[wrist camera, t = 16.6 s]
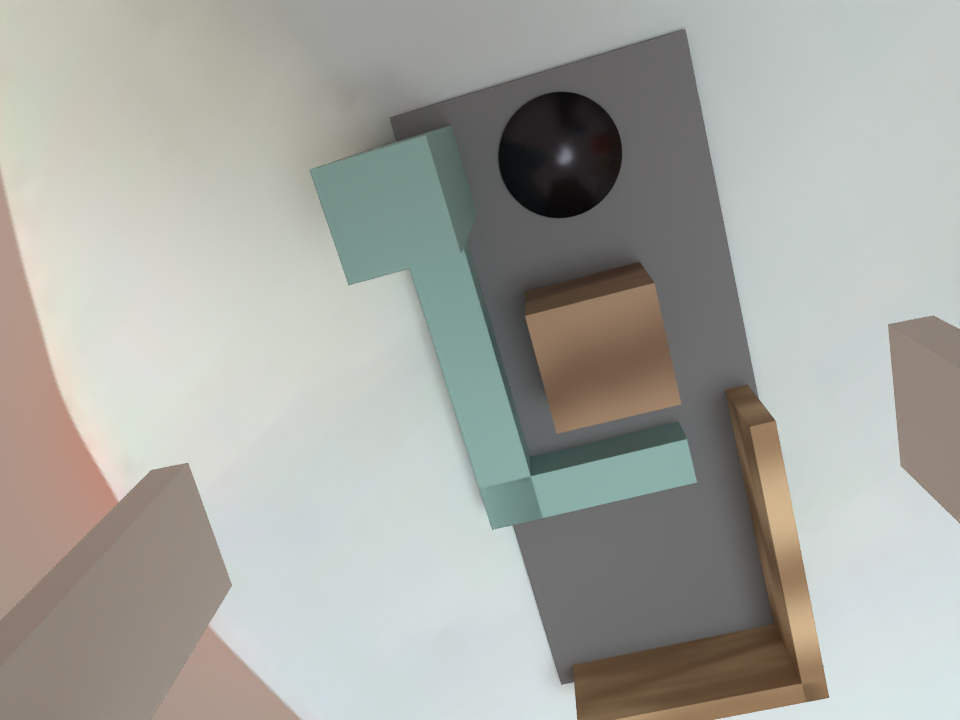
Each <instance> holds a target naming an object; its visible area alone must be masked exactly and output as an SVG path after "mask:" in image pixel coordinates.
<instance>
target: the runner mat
mask: <svg viewBox="0 0 960 720" xmlns="http://www.w3.org/2000/svg"><path fill="white" fill-rule="evenodd" d="M553 92H571V93H576V94H580V95H583V96H585V97H587V98H589V99H591V100H593V101H595V102H596V103H597V104H599V105H600V106H601V107H602V108H603V109H604V110H605V111H606V112H607V113H608V114H609V115H610V117H611V118H612V120H613V121H614V123H615V125H616V127H617V129H618V132H619V135H620V139H621V144H622V163H621V168H620V172H619V175H618V178H617V180H616V182H615V184H614V186H613V188H612V189H611V191H610V192H609V194H608V195H607V196H606V197H605V198H604V199H603V200H602V201H601V202H600V203H599V204H598V205H596V206H595V207H593V208H592V209H590V210H589V211H587V212H585V213H583V214H580V215H577V216H573V217H568V218H549V217H544V216H541V215H538V214H535V213H533V212H531V211H529V210H528V209H526V208H525V207H523V206H522V205H521V204H520V203H518V202H517V201H516V200H515V198H514V197H513V196H512V195H511V194H510V192H509V191H508V189H507V187H506V185H505V183H504V181H503V178H502V175H501V172H500V167H499V146H500V141H501V138H502V135H503V132H504V130H505V128H506V126H507V124H508V122H509V121H510V119H511V118H512V116H513V115H514V114H515V113H516V112H517V111H518V110H519V109H520V108H521V107H522V106H523V105H525V104H526V103H527V102H529V101H530V100H532V99H534V98H536V97H539V96H541V95H544V94H548V93H553ZM390 119H391V122H392V125H393V129H394V132H395V135H396V139H397V141H400V140H404V139H407V138H410V137H414V136H417V135H420V134H424V133H427V132H430V131H434V130H437V129H441V128H444V127H447V126H451V125H452V129H453V132H454V136H455V139H456V143H457V146H458V150H459V153H460V157H461V160H462V164H463V167H464V171H465V174H466V178H467V181H468V185H469V188H470V192H471V195H472V199H473V202H474V206H475V209H476V213H477V216H476V219H475V221H474V223H473V226H472V228H471V231H470V233H469V236H468V238H467V242H468V245H469V249H470V252H471V256H472V259H473V262H474V266H475V269H476V273H477V276H478V280H479V283H480V286H481V290H482V293H483V297H484V300H485V304H486V307H487V310H488V314H489V317H490V321H491V324H492V327H493V331H494V334H495V338H496V341H497V345H498V348H499V351H500V355H501V358H502V362H503V365H504V369H505V372H506V375H507V379H508V382H509V386H510V389H511V392H512V396H513V399H514V403H515V406H516V410H517V413H518V416H519V420H520V423H521V427H522V430H523V434H524V437H525V440H526V444H527V447H528V451H529V454H530V457H534V456H538V455H542V454H547V453H551V452H555V451H559V450H563V449H567V448H571V447H576V446H580V445H584V444H588V443H592V442H596V441H600V440H605V439H609V438H613V437H617V436H621V435H625V434H629V433H634V432H638V431H642V430H646V429H650V428H654V427H658V426H663V425H667V424H671V423H675V422H679V423H680V426H681V428H682V430H683V432H684V434H685V436H686V438H687V442H688V446H689V450H690V455H691V459H692V463H693V467H694V472H695V476H696V480H697V483H693V484H688V485H684V486H680V487H675V488H671V489H667V490H662V491H658V492H654V493H649V494H645V495H641V496H636V497H632V498H628V499H623V500H619V501H615V502H610V503H606V504H602V505H597V506H593V507H589V508H584V509H580V510H576V511H571V512H567V513H563V514H558V515H554V516H550V517H545V518H541V519H537V520H532V521H528V522H524V523H519V524H515V525H513V526H514V529H515V533H516V536H517V539H518V542H519V546H520V549H521V552H522V556H523V559H524V562H525V566H526V569H527V572H528V576H529V579H530V582H531V585H532V589H533V592H534V595H535V599H536V602H537V605H538V609H539V612H540V615H541V619H542V622H543V625H544V629H545V632H546V635H547V638H548V642H549V645H550V648H551V652H552V655H553V658H554V662H555V665H556V668H557V672H558V675H559V678H560V681H561V685H562V684H567V683H572V682H574V673H573V665H575V664H580V663H585V662H590V661H595V660H600V659H604V658H609V657H614V656H619V655H624V654H629V653H634V652H639V651H644V650H649V649H654V648H659V647H664V646H669V645H673V644H678V643H683V642H688V641H693V640H698V639H703V638H708V637H713V636H718V635H723V634H728V633H733V632H738V631H742V630H747V629H752V628H757V627H762V626H767V625H772V624H774V622H773V617H772V612H771V607H770V603H769V598H768V593H767V588H766V584H765V579H764V574H763V569H762V565H761V560H760V555H759V550H758V545H757V541H756V536H755V531H754V526H753V522H752V517H751V512H750V507H749V503H748V498H747V493H746V488H745V484H744V479H743V474H742V469H741V464H740V460H739V455H738V450H737V445H736V441H735V436H734V431H733V426H732V422H731V417H730V412H729V407H728V403H727V398H726V393H725V390H728V389H732V388H737V387H741V386H745V385H748V386H749V387H750V388H751V390H752V391H753V392H754V394H755V395H756V396H757V397H758V394H757V389H756V384H755V379H754V373H753V368H752V363H751V358H750V353H749V348H748V343H747V338H746V333H745V328H744V323H743V318H742V313H741V308H740V303H739V298H738V293H737V288H736V283H735V278H734V273H733V268H732V263H731V257H730V252H729V247H728V242H727V237H726V232H725V227H724V222H723V217H722V212H721V207H720V202H719V197H718V192H717V187H716V182H715V177H714V172H713V167H712V162H711V157H710V152H709V146H708V141H707V136H706V131H705V126H704V121H703V116H702V111H701V106H700V101H699V96H698V91H697V86H696V81H695V76H694V71H693V66H692V61H691V56H690V51H689V46H688V41H687V35H686V30H682V31H678V32H675V33H672V34H668V35H665V36H661V37H658V38H655V39H651V40H648V41H645V42H641V43H638V44H635V45H631V46H628V47H625V48H621V49H618V50H615V51H611V52H608V53H605V54H601V55H598V56H595V57H591V58H588V59H585V60H581V61H578V62H575V63H571V64H568V65H565V66H561V67H558V68H555V69H551V70H548V71H545V72H541V73H538V74H534V75H531V76H528V77H524V78H521V79H518V80H514V81H511V82H508V83H504V84H501V85H498V86H494V87H491V88H488V89H484V90H481V91H478V92H474V93H471V94H468V95H464V96H461V97H458V98H454V99H451V100H448V101H444V102H441V103H438V104H434V105H431V106H428V107H424V108H421V109H418V110H414V111H411V112H407V113H404V114H401V115H397V116H394V117H391V118H390ZM637 262H640V263H641V264H642V266H643V267H644V268H645V270H646V271H647V273H648V274H649V276H650V277H651V278H652V280H653V281H654V283H655V287H656V292H657V296H658V301H659V305H660V310H661V314H662V319H663V323H664V328H665V332H666V337H667V341H668V346H669V350H670V355H671V359H672V364H673V368H674V373H675V377H676V382H677V386H678V391H679V395H680V400H681V405H677V406H672V407H668V408H664V409H660V410H655V411H651V412H647V413H643V414H638V415H634V416H630V417H626V418H621V419H617V420H613V421H609V422H604V423H600V424H596V425H592V426H588V427H583V428H579V429H575V430H571V431H566V432H562V433H558V434H557V433H556V429H555V425H554V422H553V418H552V414H551V411H550V407H549V403H548V399H547V396H546V392H545V388H544V385H543V381H542V377H541V374H540V370H539V366H538V362H537V359H536V355H535V351H534V348H533V344H532V340H531V337H530V333H529V329H528V325H527V322H526V318H525V292H526V291H529V290H533V289H537V288H541V287H545V286H549V285H553V284H556V283H560V282H564V281H568V280H572V279H576V278H580V277H583V276H587V275H591V274H595V273H599V272H603V271H607V270H610V269H614V268H618V267H622V266H626V265H630V264H633V263H637Z"/></svg>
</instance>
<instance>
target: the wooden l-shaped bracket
mask: <svg viewBox="0 0 960 720" xmlns="http://www.w3.org/2000/svg"><path fill="white" fill-rule="evenodd" d="M725 393H726V398H727V403H728V407H729V412H730V417H731V422H732V426H733V431H734V436H735V441H736V445H737V450H738V455H739V460H740V464H741V469H742V474H743V479H744V484H745V488H746V493H747V498H748V503H749V507H750V512H751V517H752V522H753V526H754V531H755V536H756V541H757V545H758V550H759V555H760V560H761V565H762V569H763V574H764V579H765V584H766V588H767V593H768V598H769V603H770V607H771V612H772V617H773V622H774V624H772V625H767V626H762V627H757V628H752V629H747V630H742V631H738V632H733V633H728V634H723V635H718V636H713V637H708V638H703V639H698V640H693V641H688V642H683V643H678V644H673V645H669V646H664V647H659V648H654V649H649V650H644V651H639V652H634V653H629V654H624V655H619V656H614V657H609V658H604V659H600V660H595V661H590V662H585V663H580V664H575V665H573V673H574V685H575V697H576V709H577V720H715V719H720V718H725V717H730V716H736V715H741V714H746V713H752V712H757V711H762V710H767V709H773V708H778V707H783V706H788V705H794V704H799V703H804V702H809V701H815V700H820V699H825V698H829V694H828V689H827V684H826V679H825V674H824V669H823V663H822V658H821V653H820V648H819V643H818V638H817V632H816V627H815V622H814V617H813V612H812V607H811V601H810V596H809V591H808V586H807V581H806V576H805V570H804V565H803V560H802V555H801V550H800V545H799V539H798V534H797V529H796V524H795V519H794V514H793V508H792V503H791V498H790V493H789V488H788V483H787V477H786V472H785V467H784V462H783V457H782V452H781V446H780V441H779V436H778V431H777V426H776V421H775V419H774V418H773V417H772V416H771V414H770V413H769V412H768V410H767V409H766V408H765V407H764V405H763V404H762V403H761V401H760V400H759V399H758V397H757V396H756V395H755V394H754V392H753V391H752V390H751V388H750V387H749V386H748V385H745V386H741V387H737V388H732V389H728V390H725Z"/></svg>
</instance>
